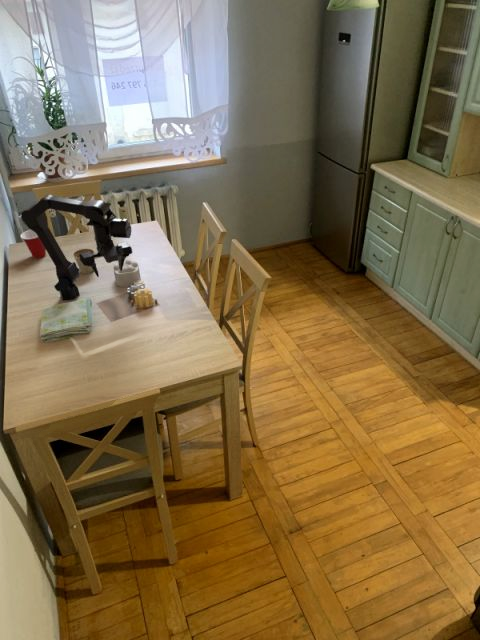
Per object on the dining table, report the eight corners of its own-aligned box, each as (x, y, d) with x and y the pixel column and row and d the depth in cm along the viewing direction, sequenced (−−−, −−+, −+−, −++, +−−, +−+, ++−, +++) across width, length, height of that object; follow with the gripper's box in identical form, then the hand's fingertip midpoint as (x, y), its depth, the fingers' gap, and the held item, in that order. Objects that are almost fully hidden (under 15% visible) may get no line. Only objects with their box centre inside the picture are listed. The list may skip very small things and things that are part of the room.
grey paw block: (117, 290, 193) (114, 272, 188) (114, 276, 204) (111, 258, 199) (142, 286, 196) (139, 267, 191) (138, 272, 206) (135, 254, 201)
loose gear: (140, 309, 178) (137, 297, 175) (132, 302, 183) (130, 289, 180) (155, 304, 181) (154, 291, 178) (148, 296, 186) (146, 284, 183)
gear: (132, 301, 184) (130, 293, 181) (125, 294, 188) (124, 286, 186) (147, 296, 187) (146, 288, 185) (140, 289, 191) (139, 281, 189)
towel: (40, 345, 164) (36, 333, 161) (45, 313, 181) (42, 302, 178) (93, 336, 167) (90, 325, 164) (93, 306, 184) (90, 295, 181)
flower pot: (95, 275, 204) (91, 257, 199) (73, 275, 204) (69, 258, 200) (100, 265, 212) (97, 248, 207) (80, 265, 212) (76, 248, 207)
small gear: (139, 292, 190) (138, 285, 189) (131, 288, 192) (131, 282, 191) (147, 288, 193) (146, 282, 192) (139, 285, 195) (139, 279, 194)
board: (111, 324, 173) (110, 318, 171) (96, 305, 184) (95, 300, 182) (160, 307, 182) (159, 301, 180) (143, 290, 193) (142, 285, 191)
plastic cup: (26, 253, 223) (19, 230, 217) (49, 249, 227) (43, 226, 220) (27, 263, 215) (20, 239, 208) (52, 258, 219) (45, 234, 212)
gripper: (85, 250, 160) (93, 289, 169) (135, 237, 169) (140, 275, 178) (75, 239, 168) (83, 276, 177) (123, 227, 176) (129, 264, 185)
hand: (109, 273), depth 179 cm, fingers open, 9 cm apart
